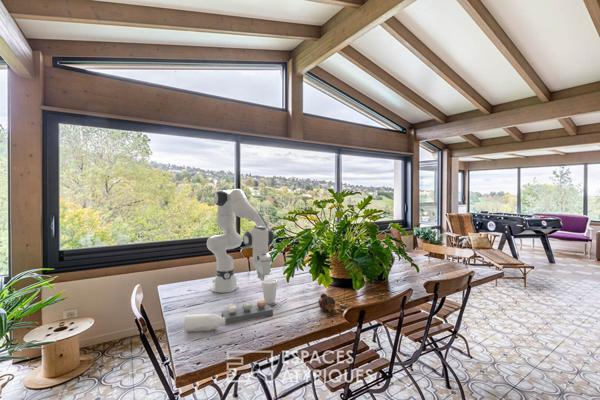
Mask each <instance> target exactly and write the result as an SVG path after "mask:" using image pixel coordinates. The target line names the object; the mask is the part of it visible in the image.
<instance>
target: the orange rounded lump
mask: <svg viewBox="0 0 600 400" xmlns="http://www.w3.org/2000/svg"><path fill="white" fill-rule="evenodd" d="M265 304H266V303H265V301H264V300H258V301H257V302H256V305H257V306H258V307H259V309H264V306H265Z"/></svg>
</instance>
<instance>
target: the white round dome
mask: <svg viewBox="0 0 600 400" xmlns="http://www.w3.org/2000/svg"><path fill="white" fill-rule="evenodd" d="M227 307H228V308H227V311H228V312H230V315H233V314H236V311H237V309H238V306H237V305H230V306H227Z"/></svg>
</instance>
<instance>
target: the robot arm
mask: <svg viewBox="0 0 600 400" xmlns="http://www.w3.org/2000/svg"><path fill="white" fill-rule="evenodd" d="M213 200H214V201H213V202H214V204H215V205H216V206H217V214H216V215H217V216H216V217H217V218H216V225H217V227H218V228H219V229H220V230H223V234H216V235H215V234H214V235H212V236H210V237H208V238H207V240H206V247H207V249H208V250H209V251H210V252H212V254H213V255H214V257H215V259H216V272H215V273H216V274H215V278H214V279H212V285H211V292H213V293H222V294H223V293H230V292H234V291H235V290H237V289H239V288H240V287H239V285H238V284H237V276H236V275H235V269H234V258H233V256H232V255H229V254H227V250H234V249H236V248H238V247H240V246H241V245H242V243H243V244H244V245H245V246H246V247H248V248H252V268H253V269H254V270H256V273H257V279H260V281H261V282H262V281H264V279H265V277H266V276H269V275H270V274H271V260H272V257H271V254H270V252H269V250H270V249H269V246H271V245H272V243H273V242H274V240H275V234H274V232H273V231H272V229H271V228H270V227H269V226H268V224H267V223H266V221H265V219H264V218H263V216H262V214H261V213H260V211H259V210H258V209H257V208H255V207H254V206H252V205H251V203H250V201H249V199H248V195H247V192H246V191H245V190H242V189H241V188H234V189H225V190H224V189H223V190H222V189H220V190H217V191H215V192H214V195H213ZM234 215H235V216H236V217H238V218H241V219H246V220H249V221H251V222H253V223H255V225H254V226H253V227H252V228H251V229H249V230H246V231H245V232H244V234H243V237H242V236H241V234H239V233H238V232H237V230H236V228H235V224H234Z"/></svg>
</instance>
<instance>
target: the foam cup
mask: <svg viewBox="0 0 600 400" xmlns="http://www.w3.org/2000/svg"><path fill="white" fill-rule="evenodd" d="M261 286H262V293H263V301H265V304H266V303H267V304H268V305H270V304H274V303H275V302H276V295H277V287H278V280H277V279H276V278H264V281H261Z"/></svg>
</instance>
